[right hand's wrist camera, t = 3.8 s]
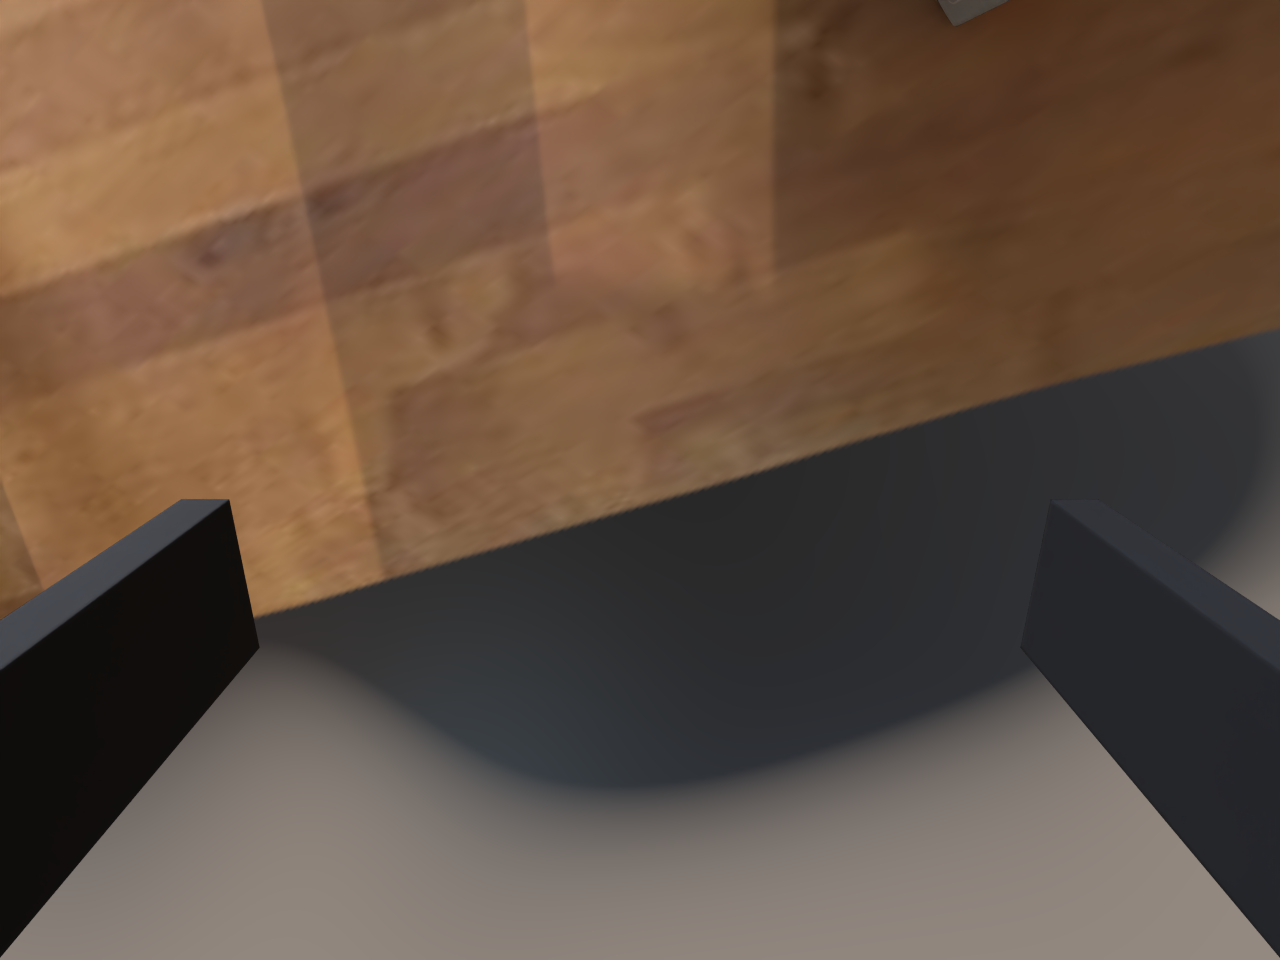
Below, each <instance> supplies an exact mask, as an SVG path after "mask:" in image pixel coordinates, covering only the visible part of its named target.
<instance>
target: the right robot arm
mask: <svg viewBox="0 0 1280 960" xmlns="http://www.w3.org/2000/svg"><path fill="white" fill-rule="evenodd" d="M258 649H259V643H258V638H257V633H256V628H255V623H254V618H253V613H252V609H251V604H250V599H249V594H248V589H247V584H246V579H245V574H244V569H243V564H242V560H241V555H240V550H239V545H238V540H237V535H236V530H235V525H234V520H233V515H232V511H231V506H230V501H229V499H181V500H180V501H178V502H177V503H175V504H174V505H172V506H171V507H169V508H168V509H166V510H165V511H163V512H162V513H160V514H159V515H157V516H156V517H154V518H153V519H151V520H150V521H148V522H147V523H145V524H144V525H142V526H141V527H139V528H138V529H136V530H135V531H133V532H132V533H130V534H129V535H127V536H126V537H124V538H123V539H121V540H120V541H118V542H117V543H115V544H114V545H112V546H111V547H109V548H108V549H106V550H105V551H103V552H102V553H100V554H99V555H97V556H96V557H94V558H93V559H91V560H90V561H88V562H87V563H85V564H84V565H82V566H81V567H79V568H78V569H76V570H75V571H73V572H72V573H70V574H69V575H67V576H66V577H64V578H63V579H61V580H60V581H59V582H57V583H56V584H54V585H53V586H51V587H50V588H48V589H47V590H45V591H44V592H42V593H41V594H39V595H38V596H36V597H35V598H33V599H32V600H30V601H29V602H27V603H26V604H24V605H23V606H21V607H20V608H18V609H17V610H15V611H14V612H12V613H11V614H9V615H8V616H6V617H5V618H3V619H2V620H0V957H1V956H2V955H3V954H4V952H5V951H6V950H7V949H8V948H9V946H10V945H11V944H12V943H13V942H14V940H15V939H16V938H17V937H18V936H19V934H20V933H21V932H22V931H23V930H24V928H25V927H26V926H27V925H28V924H29V923H30V921H31V920H32V919H33V918H34V917H35V915H36V914H37V913H38V912H39V911H40V909H41V908H42V907H43V906H44V905H45V903H46V902H47V901H48V900H49V899H50V897H51V896H52V895H53V894H54V893H55V891H56V890H57V889H58V888H59V887H60V885H61V884H62V883H63V882H64V881H65V879H66V878H67V877H68V876H69V875H70V874H71V872H72V871H73V870H74V869H75V868H76V866H77V865H78V864H79V863H80V862H81V860H82V859H83V858H84V857H85V856H86V854H87V853H88V852H89V851H90V850H91V848H92V847H93V846H94V845H95V844H96V842H97V841H98V840H99V839H100V838H101V836H102V835H103V834H104V833H105V832H106V830H107V829H108V828H109V827H110V826H111V824H112V823H113V822H114V821H115V820H116V819H117V817H118V816H119V815H120V814H121V813H122V811H123V810H124V809H125V808H126V807H127V805H128V804H129V803H130V802H131V801H132V799H133V798H134V797H135V796H136V795H137V793H138V792H139V791H140V790H141V789H142V787H143V786H144V785H145V784H146V783H147V781H148V780H149V779H150V778H151V777H152V776H153V774H154V773H155V772H156V771H157V770H158V768H159V767H160V766H161V765H162V764H163V762H164V761H165V760H166V759H167V758H168V756H169V755H170V754H171V753H172V752H173V750H174V749H175V748H176V747H177V746H178V744H179V743H180V742H181V741H182V740H183V738H184V737H185V736H186V735H187V734H188V732H189V731H190V730H191V729H192V728H193V727H194V725H195V724H196V723H197V722H198V721H199V719H200V718H201V717H202V716H203V715H204V713H205V712H206V711H207V710H208V709H209V707H210V706H211V705H212V704H213V703H214V701H215V700H216V699H217V698H218V697H219V695H220V694H221V693H222V692H223V691H224V689H225V688H226V687H227V686H228V685H229V683H230V682H231V681H232V680H233V679H234V677H235V676H236V675H237V674H238V673H239V672H240V670H241V669H242V668H243V667H244V666H245V664H246V663H247V662H248V661H249V660H250V658H251V657H252V656H253V655H254V654H255V652H256V651H257V650H258ZM1021 649H1022V650H1023V651H1024V652H1025V654H1026V655H1027V656H1028V657H1029V658H1030V660H1031V661H1032V662H1033V663H1034V664H1035V666H1036V667H1037V668H1038V669H1039V670H1040V672H1041V673H1042V674H1043V675H1044V676H1045V677H1046V679H1047V680H1048V681H1049V682H1050V683H1051V685H1052V686H1053V687H1054V688H1055V689H1056V691H1057V692H1058V693H1059V694H1060V695H1061V697H1062V698H1063V699H1064V700H1065V701H1066V702H1067V704H1068V705H1069V706H1070V707H1071V709H1072V710H1073V711H1074V712H1075V713H1076V715H1077V716H1078V717H1079V718H1080V719H1081V720H1082V722H1083V723H1084V724H1085V725H1086V727H1087V728H1088V729H1089V730H1090V731H1091V732H1092V734H1093V735H1094V736H1095V737H1096V738H1097V740H1098V741H1099V742H1100V743H1101V744H1102V746H1103V747H1104V748H1105V749H1106V750H1107V752H1108V753H1109V754H1110V755H1111V756H1112V758H1113V759H1114V760H1115V761H1116V762H1117V764H1118V765H1119V766H1120V767H1121V768H1122V770H1123V771H1124V772H1125V773H1126V774H1127V776H1128V777H1129V778H1130V779H1131V780H1132V781H1133V783H1134V784H1135V785H1136V786H1137V787H1138V789H1139V790H1140V791H1141V792H1142V793H1143V795H1144V796H1145V797H1146V798H1147V799H1148V801H1149V802H1150V803H1151V804H1152V805H1153V807H1154V808H1155V809H1156V810H1157V811H1158V813H1159V814H1160V815H1161V816H1162V817H1163V819H1164V820H1165V821H1166V822H1167V823H1168V825H1169V826H1170V827H1171V828H1172V829H1173V830H1174V832H1175V833H1176V834H1177V835H1178V836H1179V838H1180V839H1181V840H1182V841H1183V842H1184V844H1185V845H1186V846H1187V847H1188V848H1189V850H1190V851H1191V852H1192V853H1193V854H1194V856H1195V857H1196V858H1197V859H1198V860H1199V862H1200V863H1201V864H1202V865H1203V866H1204V868H1205V869H1206V870H1207V871H1208V872H1209V874H1210V875H1211V876H1212V877H1213V878H1214V879H1215V881H1216V882H1217V883H1218V884H1219V885H1220V887H1221V888H1222V889H1223V890H1224V891H1225V893H1226V894H1227V895H1228V896H1229V897H1230V899H1231V900H1232V901H1233V902H1234V903H1235V905H1236V906H1237V907H1238V908H1239V909H1240V911H1241V912H1242V913H1243V914H1244V915H1245V917H1246V918H1247V919H1248V920H1249V921H1250V923H1251V924H1252V925H1253V926H1254V927H1255V928H1256V930H1257V931H1258V932H1259V933H1260V934H1261V936H1262V937H1263V938H1264V939H1265V940H1266V942H1267V943H1268V944H1269V945H1270V946H1271V948H1272V949H1273V950H1274V951H1275V952H1276V954H1277V955H1278V956H1279V957H1280V620H1278V619H1277V618H1275V617H1274V616H1272V615H1271V614H1269V613H1268V612H1266V611H1265V610H1263V609H1262V608H1260V607H1259V606H1257V605H1256V604H1254V603H1253V602H1251V601H1250V600H1248V599H1247V598H1245V597H1244V596H1242V595H1241V594H1239V593H1238V592H1236V591H1235V590H1233V589H1232V588H1230V587H1229V586H1227V585H1226V584H1224V583H1223V582H1221V581H1220V580H1218V579H1217V578H1215V577H1214V576H1213V575H1211V574H1210V573H1208V572H1206V571H1205V570H1204V569H1202V568H1201V567H1199V566H1198V565H1196V564H1195V563H1193V562H1192V561H1190V560H1188V559H1187V558H1186V557H1184V556H1183V555H1181V554H1180V553H1178V552H1177V551H1175V550H1174V549H1172V548H1171V547H1169V546H1168V545H1166V544H1165V543H1163V542H1162V541H1160V540H1159V539H1157V538H1156V537H1154V536H1153V535H1151V534H1150V533H1148V532H1147V531H1145V530H1144V529H1142V528H1141V527H1139V526H1138V525H1136V524H1135V523H1133V522H1132V521H1130V520H1129V519H1127V518H1126V517H1124V516H1123V515H1121V514H1120V513H1118V512H1117V511H1115V510H1114V509H1112V508H1111V507H1109V506H1108V505H1106V504H1105V503H1103V502H1102V501H1100V500H1099V499H1051V501H1050V506H1049V511H1048V515H1047V521H1046V525H1045V530H1044V535H1043V540H1042V545H1041V550H1040V555H1039V560H1038V564H1037V569H1036V574H1035V579H1034V584H1033V589H1032V594H1031V599H1030V604H1029V608H1028V613H1027V618H1026V623H1025V628H1024V633H1023V638H1022V643H1021Z"/></svg>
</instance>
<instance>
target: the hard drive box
mask: <svg viewBox="0 0 1280 960" xmlns="http://www.w3.org/2000/svg"><path fill="white" fill-rule="evenodd" d="M1007 1H1009V0H938V2H939V4H940V5H941V7H942V9H943V10H944V12H945V14H946V16H947V17H948V19H949V20H950V22H951V23H952V25H953V26H959V25H961V24H963V23H965V22H967V21H969V20H971V19H973V18H975V17H977V16H979V15H981V14H983V13H985V12H987V11H989V10H991V9H993V8H995V7H997V6H999V5H1001V4H1003V3H1005V2H1007Z"/></svg>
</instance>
